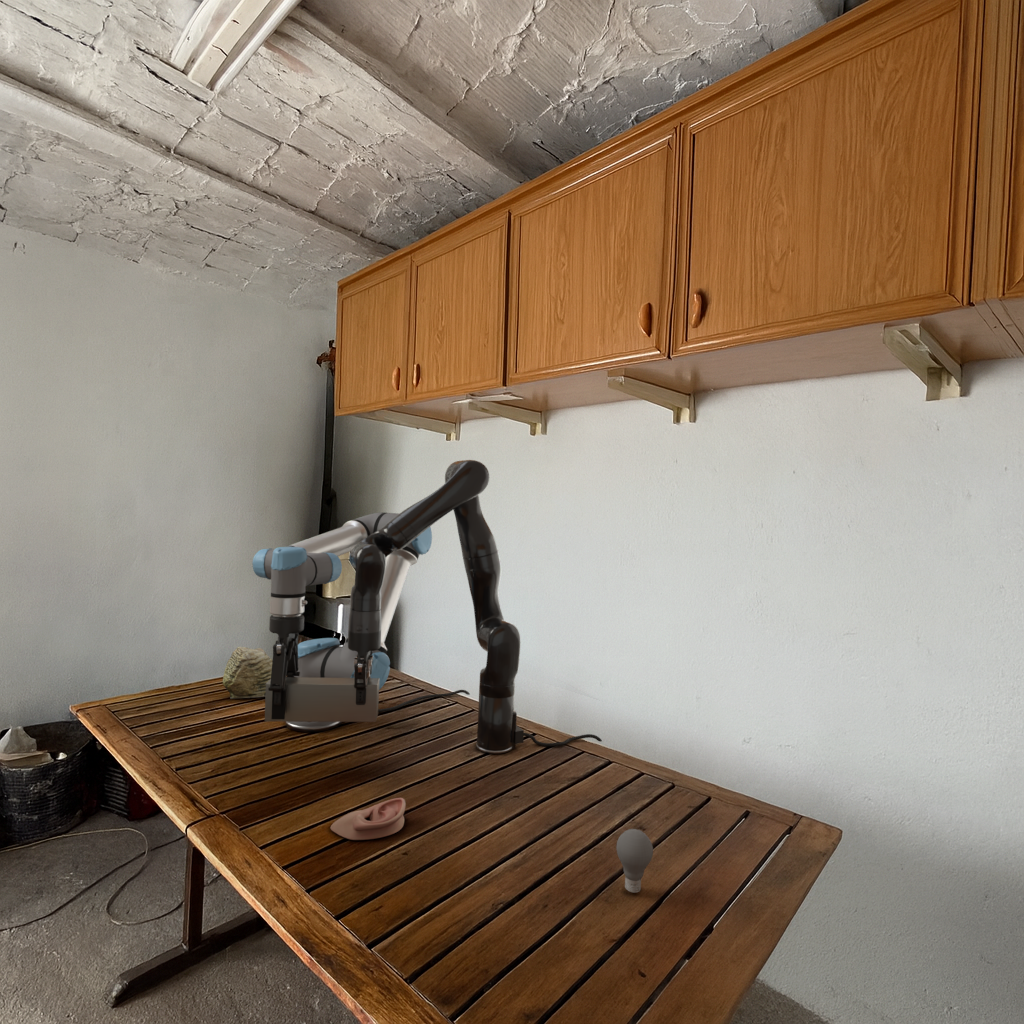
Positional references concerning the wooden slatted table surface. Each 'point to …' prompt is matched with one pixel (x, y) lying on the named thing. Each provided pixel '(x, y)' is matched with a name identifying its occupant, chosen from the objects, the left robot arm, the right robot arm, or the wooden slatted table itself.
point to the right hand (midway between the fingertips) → (362, 700)
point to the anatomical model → (372, 821)
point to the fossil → (247, 673)
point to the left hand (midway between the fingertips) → (283, 711)
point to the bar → (325, 700)
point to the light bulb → (634, 857)
